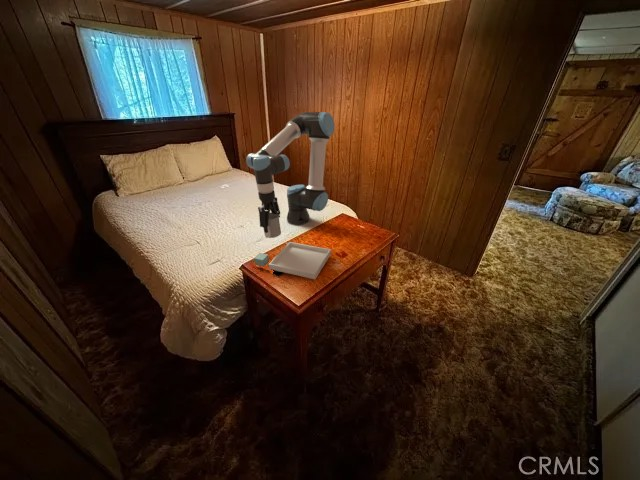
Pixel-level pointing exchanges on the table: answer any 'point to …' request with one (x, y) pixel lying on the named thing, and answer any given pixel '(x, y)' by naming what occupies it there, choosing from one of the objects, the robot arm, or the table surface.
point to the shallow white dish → (300, 260)
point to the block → (261, 259)
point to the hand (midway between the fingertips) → (272, 232)
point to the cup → (274, 225)
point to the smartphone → (278, 273)
